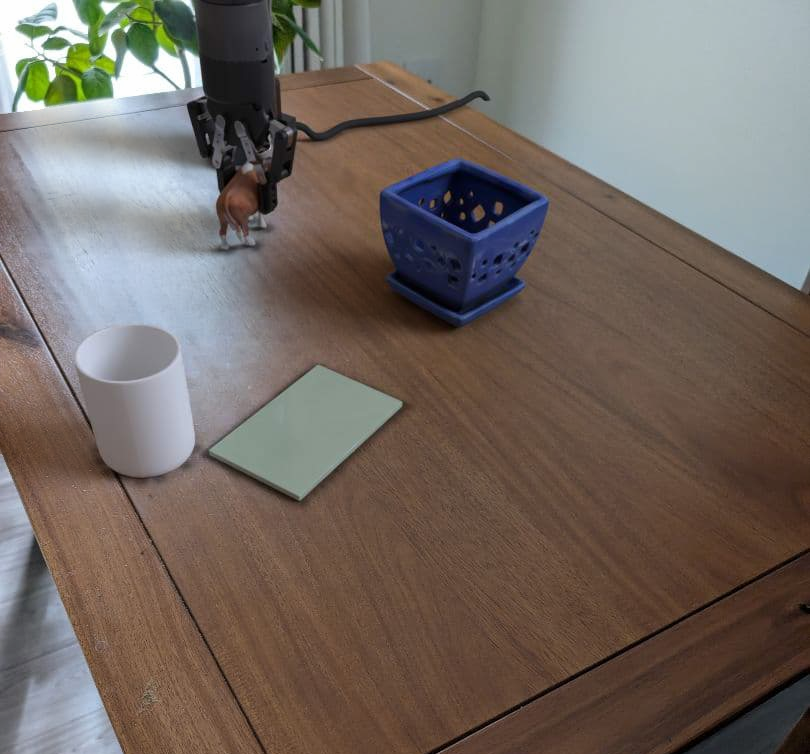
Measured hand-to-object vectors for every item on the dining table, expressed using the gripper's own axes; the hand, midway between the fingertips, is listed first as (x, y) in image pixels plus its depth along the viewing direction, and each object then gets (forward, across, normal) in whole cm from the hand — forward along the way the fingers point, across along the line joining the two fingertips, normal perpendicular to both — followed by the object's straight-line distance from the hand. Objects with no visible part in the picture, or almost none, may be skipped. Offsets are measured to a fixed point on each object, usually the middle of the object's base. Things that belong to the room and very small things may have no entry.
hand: (248, 204), depth 101 cm
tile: (+4, +28, -25) cm, 38 cm away
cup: (+4, +16, -34) cm, 38 cm away
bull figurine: (+4, 0, 0) cm, 4 cm away
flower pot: (+4, +27, +3) cm, 27 cm away
